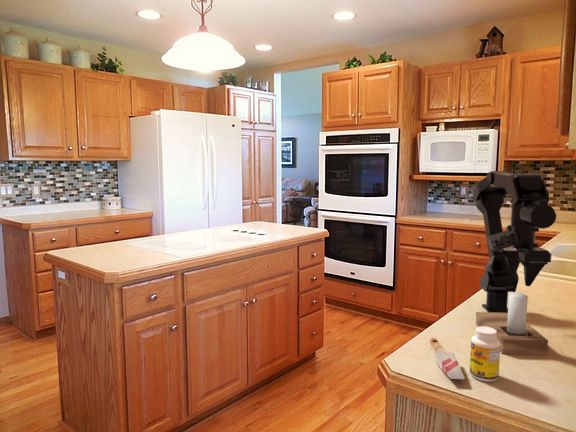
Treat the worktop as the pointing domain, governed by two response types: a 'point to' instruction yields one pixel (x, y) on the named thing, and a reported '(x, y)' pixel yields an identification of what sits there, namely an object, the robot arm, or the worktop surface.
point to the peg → (517, 314)
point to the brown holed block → (513, 344)
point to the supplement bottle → (485, 354)
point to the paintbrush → (447, 361)
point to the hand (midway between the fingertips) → (519, 280)
